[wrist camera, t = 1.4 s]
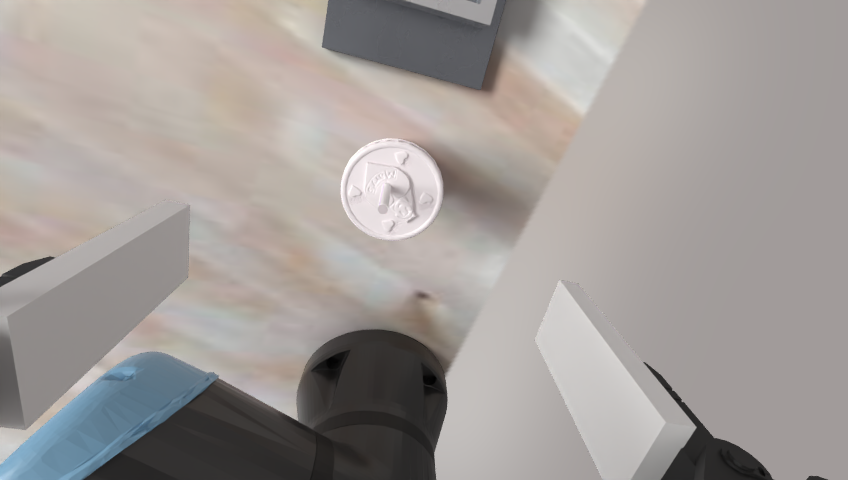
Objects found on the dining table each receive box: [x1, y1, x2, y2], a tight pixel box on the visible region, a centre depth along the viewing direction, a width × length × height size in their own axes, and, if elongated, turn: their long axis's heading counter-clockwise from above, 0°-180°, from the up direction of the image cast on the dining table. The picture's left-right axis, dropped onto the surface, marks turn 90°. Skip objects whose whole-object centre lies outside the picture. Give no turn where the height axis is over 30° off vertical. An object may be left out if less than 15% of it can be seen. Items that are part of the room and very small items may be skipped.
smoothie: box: [341, 138, 443, 241], centre depth 27 cm, size 6×6×14 cm
